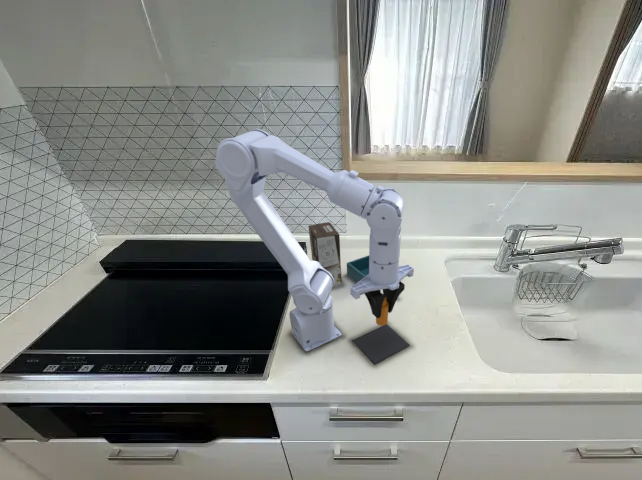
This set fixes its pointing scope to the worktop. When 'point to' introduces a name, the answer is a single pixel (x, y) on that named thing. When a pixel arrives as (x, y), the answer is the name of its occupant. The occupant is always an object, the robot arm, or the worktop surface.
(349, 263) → the teal open bin
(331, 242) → the coffee box
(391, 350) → the mat
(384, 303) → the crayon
